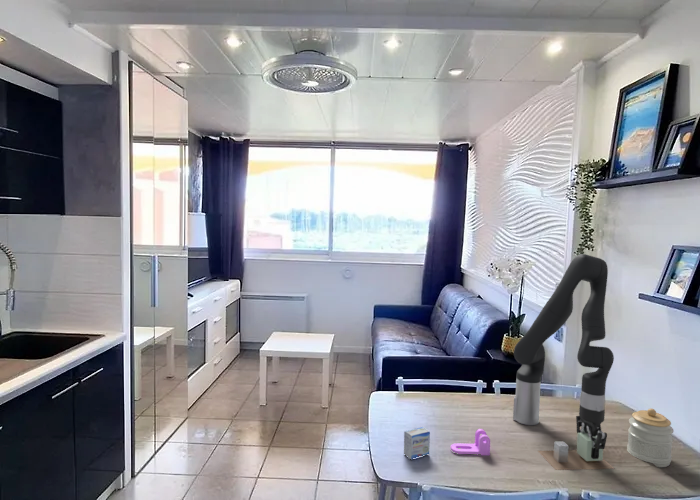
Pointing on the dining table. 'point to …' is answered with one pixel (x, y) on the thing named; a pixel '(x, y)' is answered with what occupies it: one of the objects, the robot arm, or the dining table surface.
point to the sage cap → (587, 447)
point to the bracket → (474, 445)
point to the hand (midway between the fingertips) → (589, 453)
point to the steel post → (561, 451)
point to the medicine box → (416, 442)
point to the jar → (650, 437)
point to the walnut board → (573, 462)
